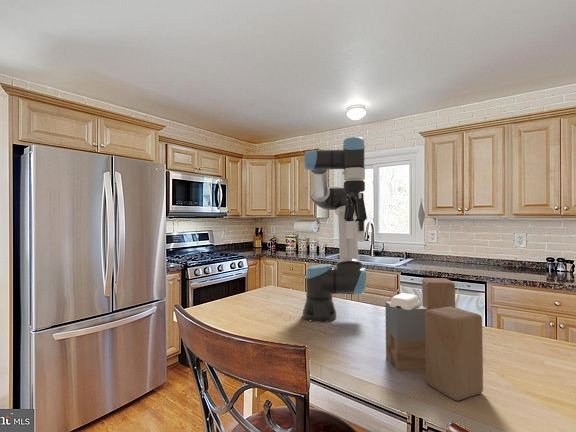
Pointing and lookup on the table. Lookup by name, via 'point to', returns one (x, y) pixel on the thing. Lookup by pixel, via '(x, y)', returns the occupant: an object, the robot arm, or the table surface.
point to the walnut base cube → (405, 354)
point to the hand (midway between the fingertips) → (354, 239)
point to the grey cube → (405, 322)
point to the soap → (405, 301)
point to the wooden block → (438, 293)
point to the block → (454, 352)
